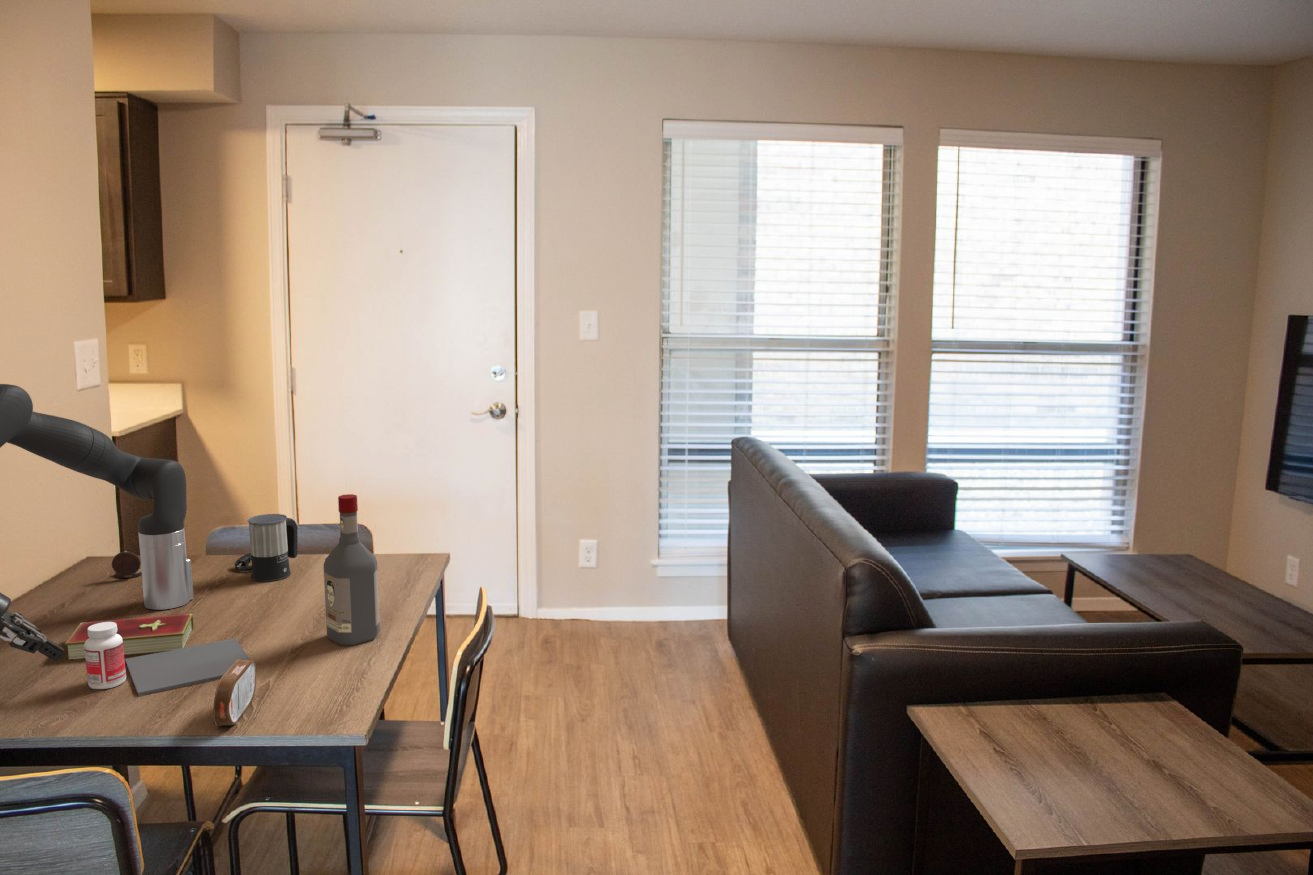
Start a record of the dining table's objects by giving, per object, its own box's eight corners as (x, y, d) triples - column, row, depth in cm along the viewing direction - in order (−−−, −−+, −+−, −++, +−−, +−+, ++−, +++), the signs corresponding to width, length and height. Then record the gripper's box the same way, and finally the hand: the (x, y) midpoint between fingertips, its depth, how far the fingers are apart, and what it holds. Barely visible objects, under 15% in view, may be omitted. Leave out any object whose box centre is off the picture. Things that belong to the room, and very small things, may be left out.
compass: (146, 570, 246) (144, 541, 245) (141, 579, 239) (138, 550, 238) (110, 572, 244) (107, 544, 242) (103, 582, 236) (101, 553, 235)
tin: (242, 695, 177) (239, 651, 176) (260, 694, 177) (258, 650, 176) (212, 735, 162) (209, 687, 161) (232, 734, 162) (229, 686, 161)
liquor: (363, 625, 211) (357, 489, 206) (384, 637, 205) (379, 496, 199) (322, 636, 205) (315, 495, 199) (343, 648, 198) (337, 504, 193)
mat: (138, 695, 176) (138, 692, 176) (125, 661, 191) (125, 658, 190) (256, 671, 187) (255, 668, 187) (235, 640, 202) (235, 637, 202)
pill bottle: (128, 674, 185) (124, 618, 183) (123, 687, 179) (118, 630, 177) (91, 678, 183) (86, 622, 181) (85, 692, 177) (79, 634, 175)
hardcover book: (82, 640, 202) (80, 620, 201) (194, 630, 208) (192, 611, 207) (66, 662, 191) (64, 642, 190) (184, 651, 197) (183, 631, 196)
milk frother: (281, 583, 238) (278, 523, 235) (217, 581, 238) (213, 522, 236) (304, 565, 252) (301, 508, 249) (243, 563, 252) (239, 507, 250)
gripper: (-13, 596, 163) (80, 650, 172) (-14, 574, 173) (73, 627, 182) (-48, 633, 161) (47, 686, 170) (-47, 609, 171) (42, 660, 180)
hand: (60, 655), depth 176 cm, fingers closed
